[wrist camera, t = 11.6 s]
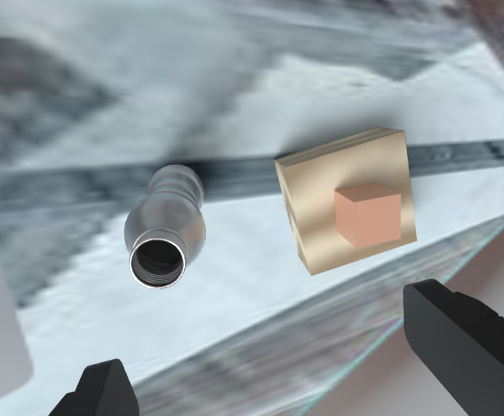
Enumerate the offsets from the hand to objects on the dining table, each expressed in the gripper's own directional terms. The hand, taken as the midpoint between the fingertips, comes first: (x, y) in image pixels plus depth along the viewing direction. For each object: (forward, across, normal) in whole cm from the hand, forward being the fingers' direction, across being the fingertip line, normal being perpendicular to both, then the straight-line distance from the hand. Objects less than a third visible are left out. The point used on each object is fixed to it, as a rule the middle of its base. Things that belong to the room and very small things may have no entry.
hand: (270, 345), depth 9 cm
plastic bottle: (+32, +5, +3) cm, 33 cm away
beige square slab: (+32, -15, +8) cm, 37 cm away
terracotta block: (+26, -15, +8) cm, 31 cm away
